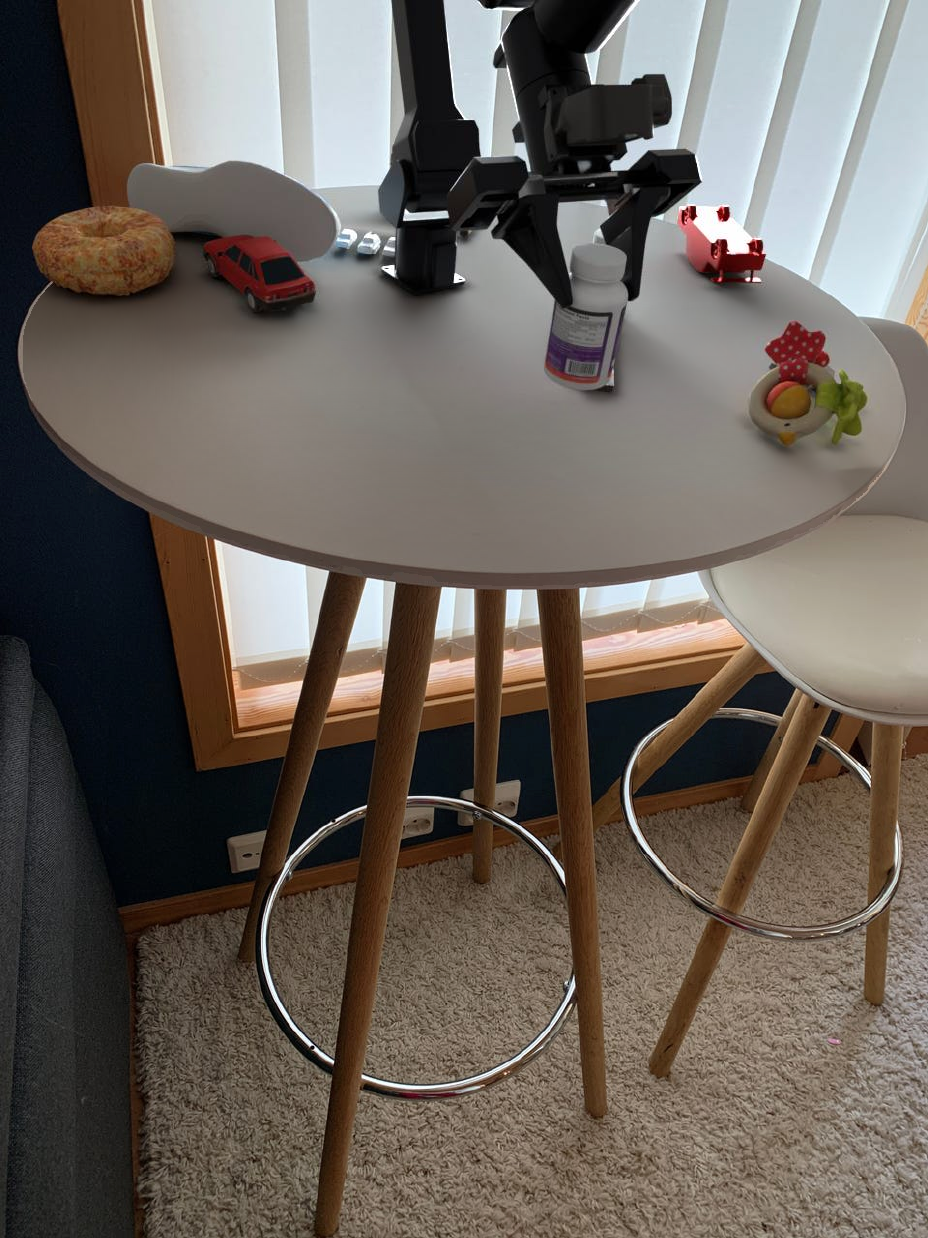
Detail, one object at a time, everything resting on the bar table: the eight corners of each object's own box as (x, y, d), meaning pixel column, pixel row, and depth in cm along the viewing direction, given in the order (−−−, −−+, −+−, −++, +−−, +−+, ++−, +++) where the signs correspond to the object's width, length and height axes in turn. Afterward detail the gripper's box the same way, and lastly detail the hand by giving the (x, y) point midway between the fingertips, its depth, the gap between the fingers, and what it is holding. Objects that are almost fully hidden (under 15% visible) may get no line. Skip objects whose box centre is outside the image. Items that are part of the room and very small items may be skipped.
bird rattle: (798, 446, 74) (895, 378, 73) (712, 357, 78) (803, 292, 78) (796, 482, 79) (886, 419, 79) (716, 396, 84) (800, 336, 83)
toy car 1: (254, 254, 97) (249, 205, 93) (324, 311, 89) (323, 260, 86) (196, 266, 94) (189, 216, 90) (264, 326, 86) (259, 274, 83)
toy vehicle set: (311, 247, 101) (310, 229, 100) (321, 234, 104) (321, 218, 102) (418, 266, 100) (420, 248, 99) (426, 253, 103) (428, 236, 101)
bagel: (180, 241, 85) (191, 294, 88) (158, 192, 94) (169, 242, 98) (31, 263, 82) (48, 317, 85) (24, 210, 91) (40, 261, 94)
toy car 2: (723, 245, 99) (711, 290, 102) (772, 246, 100) (758, 290, 103) (680, 197, 109) (670, 240, 112) (724, 198, 110) (713, 240, 113)
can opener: (458, 227, 106) (459, 238, 107) (479, 226, 106) (480, 236, 107) (466, 206, 113) (467, 216, 114) (485, 204, 113) (486, 214, 114)
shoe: (330, 176, 90) (378, 168, 100) (120, 139, 95) (186, 134, 105) (326, 274, 95) (372, 257, 105) (126, 234, 99) (189, 221, 109)
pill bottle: (573, 352, 77) (596, 233, 70) (623, 379, 74) (652, 258, 68) (528, 370, 74) (547, 247, 67) (579, 399, 71) (604, 274, 65)
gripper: (480, 19, 58) (537, 268, 58) (723, 23, 64) (773, 246, 65) (423, 120, 68) (471, 330, 68) (637, 115, 75) (680, 306, 75)
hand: (601, 302), depth 69 cm, fingers closed on pill bottle, 5 cm apart
